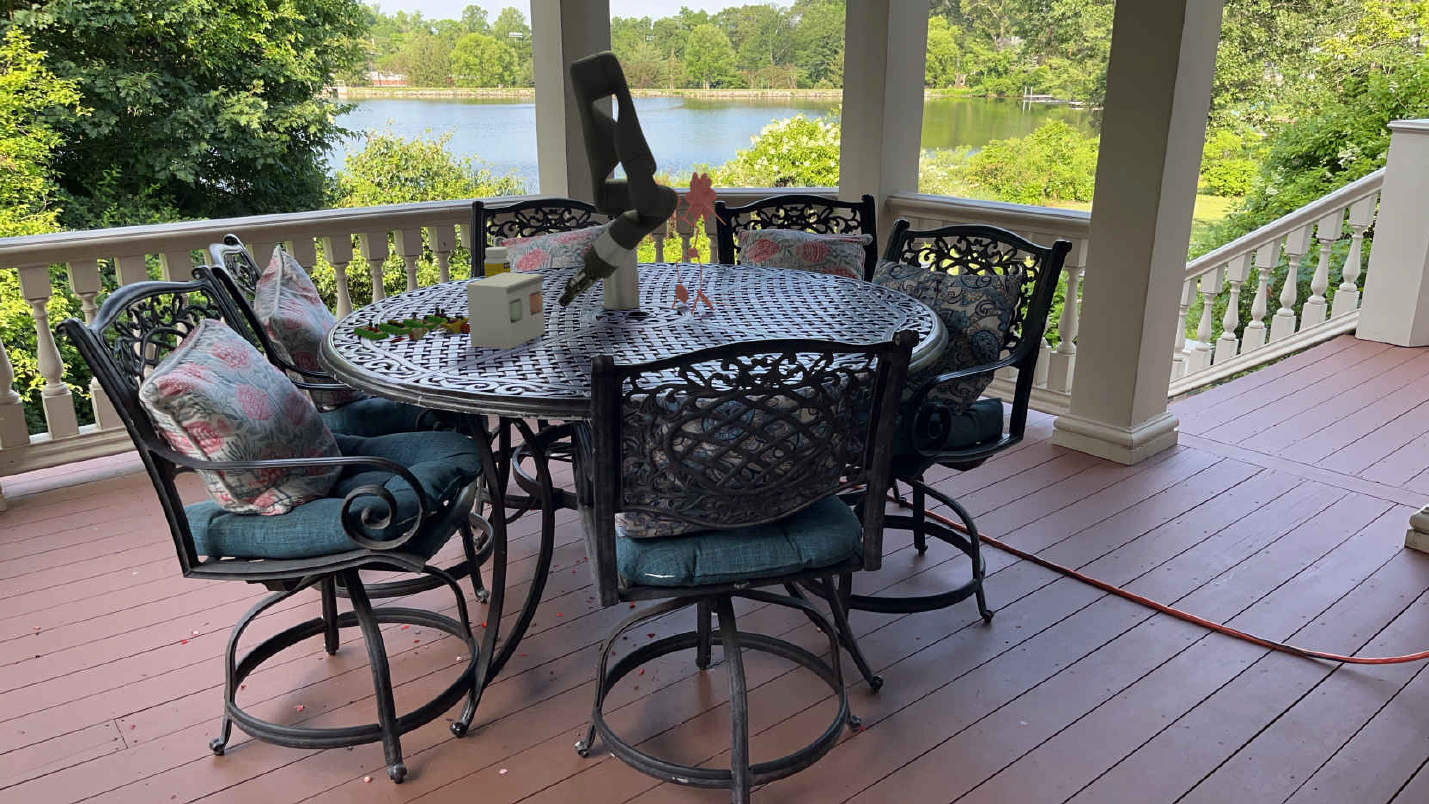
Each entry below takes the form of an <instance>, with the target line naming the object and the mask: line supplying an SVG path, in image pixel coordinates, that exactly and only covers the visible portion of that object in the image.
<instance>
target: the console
mask: <svg viewBox="0 0 1429 804" xmlns="http://www.w3.org/2000/svg"><path fill="white" fill-rule="evenodd" d="M544 281H545V276H544V275H542V274H537V273H536V274H535V273H533V274H532V273H519V272H518V273H517V272H511V273H501V274H498V275H495V276H491V277H488V278H482V279H480V280H477V281H473V282H471V283H467V284H465V286H466V297H467V298H466V300H467V310H468V311H467V312H468V318H469V321H468V324H469V325H470V332H469V333H470V334H469V336H470V337H469V338H470V346H471V347H477V348H478V347H479V348H489V347H490V348H491V349H500V348H502V349H503V350H512V349H514V348H516V347H518V346H521V345H523V344H525V343H527V342H529V341H531V339H532V340H534V339H536V338H538V337H540V336H539V335H541V336H543V335H544V333H546V331H545V328H546V327H545V311H544V295H543V294H544V293H543V282H544ZM530 294H539V295H540V296H541V298H542V307H541V310H540V311H539V312H533V311H531V308H530ZM510 301H512V302H520V303H521V304H522V307H523V314H522V317H521V319H519V320H512V319H511V318H510V304H509V302H510ZM542 334H543V335H542ZM537 336H538V337H537ZM535 337H536V338H535ZM533 338H534V339H533ZM526 341H527V342H526ZM524 342H525V343H524Z"/></svg>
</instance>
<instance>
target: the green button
mask: <svg viewBox="0 0 1429 804" xmlns="http://www.w3.org/2000/svg"><path fill="white" fill-rule="evenodd" d="M509 304H510V318H511V319H512V320H519V319H521V317H522V314H523V307H522V304H521V303H520V302H512V301H510V302H509Z"/></svg>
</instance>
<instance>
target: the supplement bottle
mask: <svg viewBox="0 0 1429 804" xmlns="http://www.w3.org/2000/svg"><path fill="white" fill-rule="evenodd" d="M484 251H485V253H484V254H485V257H486V258H485V259H484V262H483V265H484V267H483V268H484V275H485V276H484V277H485V278H488V277H491V276H495V275H498V274H501V273H512V269H511V268H512V267H511V259H510V258H509V257H507V256H508V254H509V251H508V247H506V246H490V247H486V248H485V249H484ZM485 278H484V279H485Z"/></svg>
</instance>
